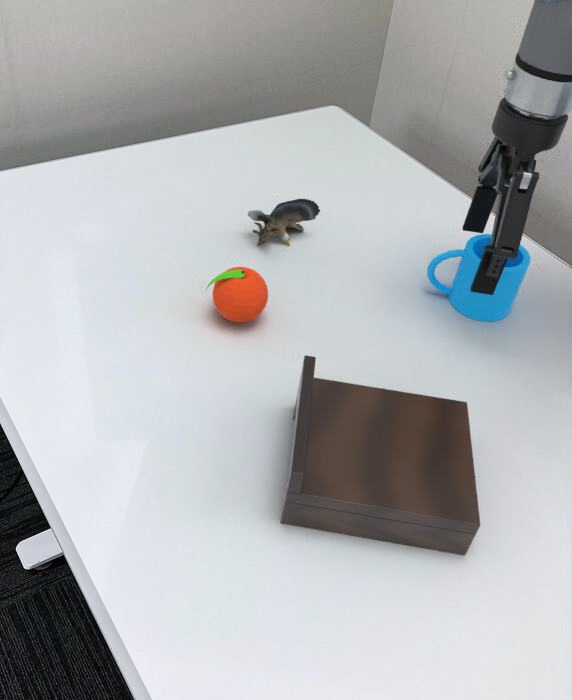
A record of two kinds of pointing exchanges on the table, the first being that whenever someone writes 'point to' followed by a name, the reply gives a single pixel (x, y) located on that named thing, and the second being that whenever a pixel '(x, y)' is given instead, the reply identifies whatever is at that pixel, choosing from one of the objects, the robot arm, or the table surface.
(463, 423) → the dark wooden box
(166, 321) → the table surface
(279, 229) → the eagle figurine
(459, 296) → the mug
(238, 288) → the clementine
